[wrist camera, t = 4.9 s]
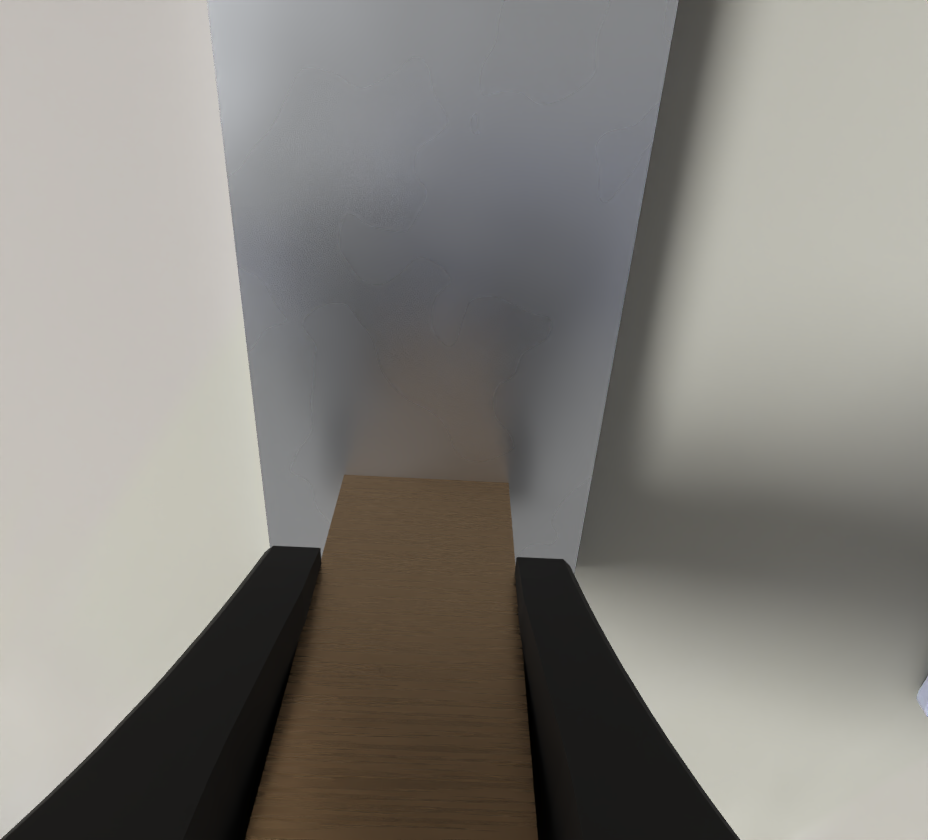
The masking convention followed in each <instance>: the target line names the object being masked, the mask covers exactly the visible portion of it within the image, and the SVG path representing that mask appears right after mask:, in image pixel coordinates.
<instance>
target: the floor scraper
mask: <svg viewBox="0 0 928 840" xmlns="http://www.w3.org/2000/svg"><path fill="white" fill-rule="evenodd" d="M678 2H679V0H207V5H208V14H209V23H210V31H211V40H212V49H213V57H214V66H215V75H216V83H217V92H218V101H219V109H220V118H221V127H222V135H223V144H224V153H225V161H226V170H227V179H228V187H229V196H230V205H231V213H232V222H233V230H234V239H235V248H236V256H237V265H238V274H239V282H240V291H241V300H242V308H243V317H244V326H245V334H246V343H247V352H248V360H249V369H250V378H251V386H252V395H253V404H254V412H255V421H256V430H257V438H258V447H259V456H260V464H261V473H262V482H263V490H264V499H265V508H266V516H267V525H268V534H269V542H270V548H271V547H272V546H293V547H315V548H320V549H321V566H320V570H319V574H318V577H317V581H316V585H315V588H314V592H313V596H312V600H311V603H310V607H309V611H308V614H307V618H306V622H305V625H304V627H303V630H302V632H301V635H300V638H299V642H298V646H297V649H296V653H295V657H294V660H293V664H292V668H291V672H290V675H289V679H288V683H287V686H286V690H285V694H284V697H283V701H282V705H281V708H280V712H279V716H278V719H277V723H276V727H275V730H274V734H273V738H272V741H271V745H270V749H269V752H268V756H267V760H266V763H265V767H264V771H263V774H262V778H261V782H260V785H259V789H258V793H257V796H256V800H255V804H254V807H253V811H252V815H251V818H250V822H249V826H248V829H247V833H246V837H245V840H538V833H537V821H536V809H535V797H534V785H533V773H532V760H531V748H530V736H529V724H528V712H527V700H526V687H525V675H524V663H523V651H522V642H521V636H520V630H519V618H518V605H517V593H516V580H515V566H516V558H517V557H530V558H552V559H564V560H565V561H566V562H567V563H568V564H569V565H570V566H571V569H572V571H573V573H575V568H576V562H577V557H578V551H579V546H580V540H581V535H582V529H583V524H584V518H585V513H586V507H587V502H588V496H589V491H590V485H591V480H592V475H593V469H594V464H595V458H596V453H597V447H598V442H599V436H600V431H601V425H602V420H603V414H604V409H605V403H606V398H607V392H608V387H609V381H610V376H611V370H612V365H613V359H614V354H615V348H616V343H617V337H618V332H619V326H620V321H621V315H622V310H623V304H624V299H625V293H626V288H627V282H628V277H629V271H630V266H631V260H632V255H633V249H634V244H635V238H636V233H637V227H638V222H639V216H640V211H641V205H642V200H643V194H644V189H645V183H646V178H647V172H648V167H649V161H650V156H651V150H652V145H653V139H654V134H655V128H656V123H657V117H658V112H659V106H660V101H661V95H662V90H663V84H664V79H665V73H666V68H667V62H668V57H669V51H670V46H671V40H672V35H673V29H674V24H675V18H676V13H677V7H678Z"/></svg>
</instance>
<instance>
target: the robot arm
mask: <svg viewBox="0 0 928 840" xmlns="http://www.w3.org/2000/svg"><path fill="white" fill-rule="evenodd" d="M320 566H321V549H320V548H315V547H293V546H272V547H271V548H270V549H268V550H267V551H266V552H265V553H264V554H263V556H262V557H261V558H260V560H259V561H258V562H257V564H256V565H255V566H254V568H253V569H252V570H251V571H250V573H249V574H248V575H247V577H246V578H245V579H244V581H243V582H242V583H241V584H240V586H239V587H238V588H237V590H236V591H235V592H234V593H233V595H232V596H231V597H230V598H229V600H228V601H227V602H226V603H225V605H224V606H223V607H222V608H221V610H220V611H219V612H218V613H217V614H216V616H215V617H214V618H213V619H212V621H211V622H210V623H209V624H208V625H207V627H206V628H205V629H204V630H203V631H202V633H201V634H200V635H199V636H198V637H197V638H196V639H195V641H194V642H193V643H192V644H191V645H190V646H189V648H188V649H187V650H186V651H185V652H184V653H183V654H182V656H181V657H180V658H179V659H178V660H177V661H176V663H175V664H174V665H173V666H172V667H171V668H170V669H169V671H168V672H167V673H166V674H165V675H164V676H163V678H162V679H161V680H160V681H159V682H158V683H157V684H156V685H155V686H154V687H153V689H152V690H151V691H150V692H149V693H148V694H147V695H146V696H145V697H144V698H143V699H142V700H141V701H140V702H139V703H138V705H137V706H136V707H135V708H134V709H133V710H132V711H131V712H130V713H129V714H128V715H127V716H126V717H125V718H124V719H123V720H122V721H121V722H120V723H119V725H118V726H117V727H116V728H115V729H114V730H113V731H112V732H111V733H110V734H109V735H108V736H107V737H106V738H105V739H104V740H103V741H102V742H101V743H100V744H99V746H98V747H97V748H96V749H95V750H94V751H93V752H92V753H91V754H90V755H89V756H88V757H87V758H86V759H85V760H84V761H83V762H82V763H81V764H80V765H79V766H78V767H77V768H76V769H75V770H74V771H73V772H72V773H71V774H70V775H69V776H68V777H66V778H65V779H64V780H63V781H62V782H61V783H60V784H59V785H58V786H57V787H56V788H55V789H54V790H53V791H52V792H51V793H50V794H49V795H48V796H47V797H46V798H45V799H44V800H43V801H42V802H40V803H39V804H38V805H37V806H36V807H35V808H34V809H33V810H32V811H31V812H30V813H29V814H28V815H26V816H25V817H24V818H23V819H22V820H21V821H20V822H19V823H18V824H17V825H16V826H15V827H13V828H12V829H11V830H10V831H9V832H8V833H7V834H6V835H5V836H4V837H3V838H2V839H0V840H245V837H246V833H247V829H248V826H249V822H250V818H251V815H252V811H253V807H254V804H255V800H256V796H257V793H258V789H259V785H260V782H261V778H262V774H263V771H264V767H265V763H266V760H267V756H268V752H269V749H270V745H271V741H272V738H273V734H274V730H275V727H276V723H277V719H278V716H279V712H280V708H281V705H282V701H283V697H284V694H285V690H286V686H287V683H288V679H289V675H290V672H291V668H292V664H293V660H294V657H295V653H296V649H297V646H298V642H299V638H300V635H301V632H302V630H303V627H304V625H305V622H306V618H307V614H308V611H309V607H310V603H311V600H312V596H313V592H314V588H315V585H316V581H317V577H318V574H319V570H320ZM515 580H516V593H517V605H518V618H519V630H520V636H521V642H522V651H523V663H524V675H525V687H526V700H527V712H528V724H529V736H530V748H531V760H532V773H533V785H534V797H535V809H536V821H537V833H538V840H740V839H739V837H738V836H737V835H736V834H735V832H734V831H733V830H732V828H731V827H730V826H729V824H728V823H727V822H726V820H725V819H724V817H723V816H722V815H721V813H720V812H719V811H718V809H717V808H716V807H715V805H714V804H713V803H712V801H711V800H710V798H709V797H708V796H707V794H706V793H705V791H704V790H703V789H702V787H701V786H700V784H699V783H698V782H697V780H696V779H695V777H694V776H693V774H692V773H691V771H690V770H689V769H688V767H687V766H686V764H685V763H684V761H683V760H682V758H681V757H680V755H679V754H678V753H677V751H676V750H675V748H674V747H673V745H672V744H671V742H670V741H669V739H668V738H667V736H666V735H665V733H664V732H663V730H662V729H661V727H660V725H659V724H658V722H657V721H656V719H655V718H654V716H653V715H652V713H651V712H650V710H649V708H648V707H647V705H646V703H645V702H644V700H643V699H642V697H641V695H640V694H639V692H638V690H637V689H636V687H635V686H634V684H633V682H632V681H631V679H630V677H629V676H628V674H627V672H626V671H625V669H624V668H623V666H622V664H621V662H620V661H619V659H618V657H617V656H616V654H615V652H614V650H613V649H612V647H611V645H610V643H609V641H608V640H607V638H606V636H605V634H604V632H603V631H602V629H601V627H600V625H599V623H598V621H597V620H596V618H595V616H594V614H593V612H592V610H591V608H590V606H589V604H588V602H587V600H586V598H585V596H584V594H583V592H582V590H581V588H580V586H579V584H578V582H577V580H576V578H575V575H574V573H573V571H572V569H571V566H570V565H569V564H568V563H567V562H566V561H565V560H564V559H552V558H530V557H517V558H516V566H515ZM917 701H918V703H919V705H920V707H921V708H922V710H923V711H924V713H925V714H926V716H927V717H928V676H927V678H926V680H925V681H924V683H923V684H922V686H921V688H920V689H919V691H918V694H917Z"/></svg>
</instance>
